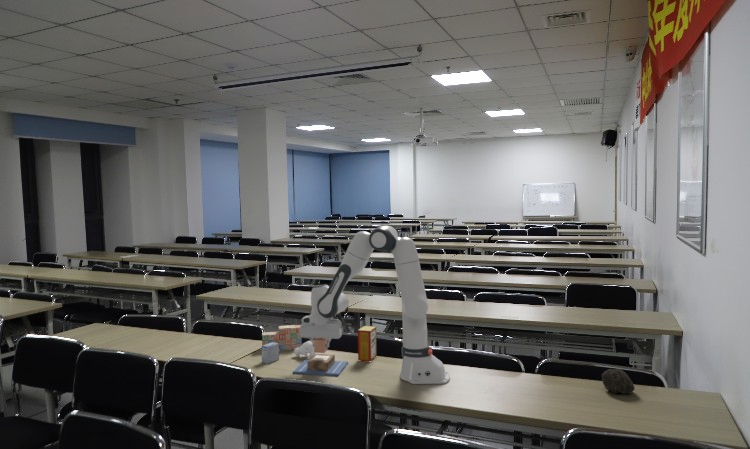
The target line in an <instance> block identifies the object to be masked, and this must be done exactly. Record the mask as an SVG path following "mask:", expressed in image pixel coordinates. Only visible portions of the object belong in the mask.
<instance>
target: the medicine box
mask: <svg viewBox="0 0 750 449" xmlns="http://www.w3.org/2000/svg"><path fill="white" fill-rule="evenodd" d="M279 360H280V351H279V344H278V343H275V342H272V343H269V344H266V345H263V346H262V345H261V363H263V364H266V365H268V364H270V363H273V362H277V361H279Z"/></svg>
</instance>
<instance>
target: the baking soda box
mask: <svg viewBox="0 0 750 449" xmlns="http://www.w3.org/2000/svg"><path fill="white" fill-rule="evenodd" d="M377 350H378V349H377V326H372V325H364V326H362V327H360V328H358V330H357V357H358V358H357V359H358V360H361V361H360V362H364V361H371V360H372V361H374V359H375V358H374V357H376V356H377ZM373 358H374V359H373ZM376 358H377V357H376ZM358 360H357V361H358ZM372 361H371V362H372Z"/></svg>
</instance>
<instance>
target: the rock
mask: <svg viewBox="0 0 750 449" xmlns="http://www.w3.org/2000/svg"><path fill="white" fill-rule="evenodd" d="M601 380H602V381H601V382H602V384H603V385H604V388H605V390H607V391H610V392H612V393H614V394H618V393H620V394H622V395H623V394H624V395H627V394H631V393H633V392H634V391H635V386H634V382H633V381H632V379H631V378H630V376H629V375H628V374H627V373H626V372H625V371H624V370H623V369H621V368H618V369H612V368H609V369H607V370H605V371H604V372H603V373H602V374H601Z"/></svg>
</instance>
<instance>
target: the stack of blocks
mask: <svg viewBox="0 0 750 449" xmlns="http://www.w3.org/2000/svg"><path fill="white" fill-rule="evenodd" d="M300 326H301V324H289V325H279V326H278V331H268V332H266V331H265V332H262V333H261V337H262V338H261V347H262V346H263V345H266V344H269V343H272V342H275V343H278V344H279V352H280V351H291V350H290V349H295V348H299V347H300V346H301V345H303V337H301V336H300Z"/></svg>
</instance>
